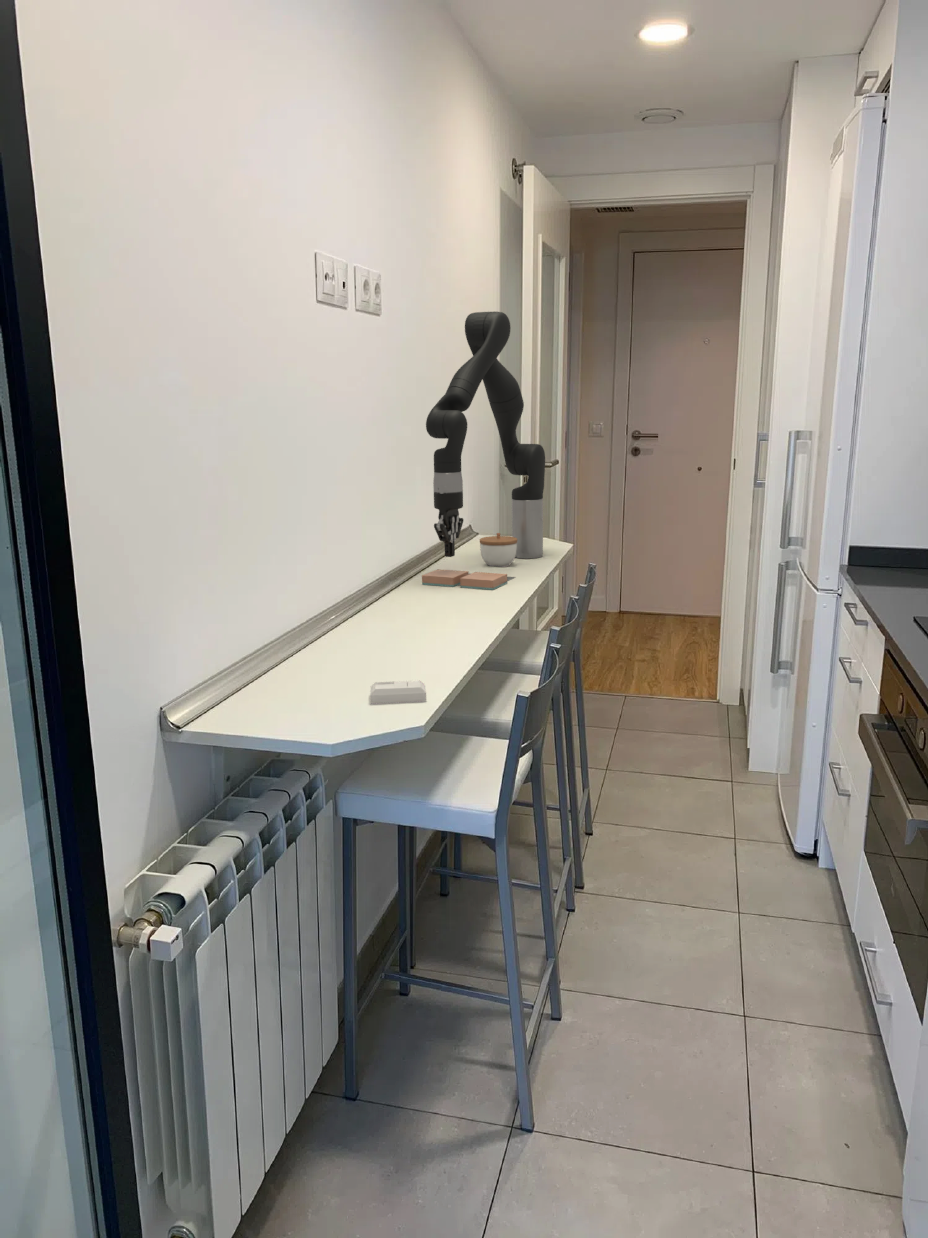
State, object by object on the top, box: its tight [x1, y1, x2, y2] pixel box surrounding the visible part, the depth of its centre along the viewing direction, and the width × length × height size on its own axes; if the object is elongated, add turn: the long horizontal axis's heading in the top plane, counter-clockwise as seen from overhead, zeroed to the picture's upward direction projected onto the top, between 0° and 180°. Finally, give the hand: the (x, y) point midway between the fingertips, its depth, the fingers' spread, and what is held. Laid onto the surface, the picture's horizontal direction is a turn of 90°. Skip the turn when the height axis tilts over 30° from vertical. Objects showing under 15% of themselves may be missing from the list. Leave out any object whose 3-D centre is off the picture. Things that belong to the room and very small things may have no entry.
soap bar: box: [369, 679, 427, 705], centre depth 155 cm, size 5×9×3 cm, turn 95°
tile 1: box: [421, 569, 470, 588], centre depth 245 cm, size 2×9×9 cm
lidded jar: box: [479, 532, 517, 568], centre depth 268 cm, size 11×11×9 cm
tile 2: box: [459, 571, 508, 591], centre depth 240 cm, size 2×9×9 cm
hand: (449, 556), depth 246 cm, fingers closed
